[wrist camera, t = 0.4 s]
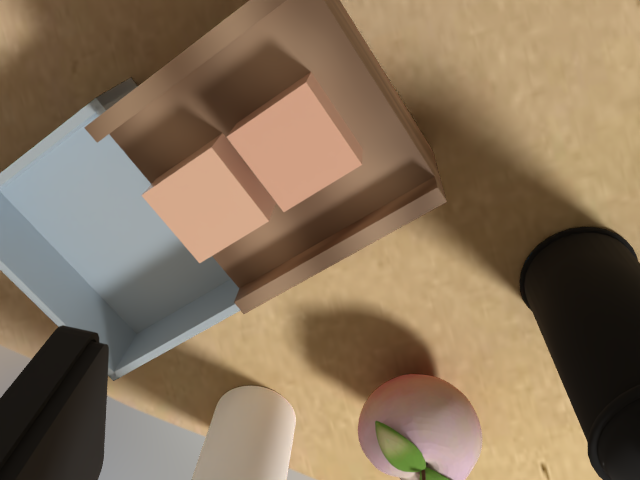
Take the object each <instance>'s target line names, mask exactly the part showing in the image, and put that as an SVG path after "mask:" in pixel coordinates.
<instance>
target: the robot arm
mask: <svg viewBox="0 0 640 480" xmlns="http://www.w3.org/2000/svg"><path fill="white" fill-rule="evenodd" d="M108 361H109V347H108V345H107V344H103V343H99V335H98V333H96V332H92V331H87V330H82V329H78V328H73V327H69V326H64V325H62V326H59V327H58V328H57V329H56V330H55V331H54V333H53V334H52V335H51V336H50V338H49V339H48V340H47V341H46V342H45V344H44V345H43V346H42V347H41V349H40V350H39V351H38V352H37V354H36V355H35V356H34V357H33V359H32V360H31V361H30V362H29V364H28V365H27V366H26V367H25V368H24V370H23V371H22V372H21V374H20V375H19V376H18V377H17V379H16V380H15V381H14V382H13V383H12V385H11V386H10V387H9V388H8V390H7V391H6V392H5V393H4V394H3V396H2V397H1V398H0V480H98V477H99V475H100V472H101V469H102V464H103V459H104V439H105V420H106V399H107V381H108Z"/></svg>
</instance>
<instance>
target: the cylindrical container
mask: <svg viewBox="0 0 640 480" xmlns="http://www.w3.org/2000/svg"><path fill="white" fill-rule="evenodd" d="M295 424H296V416H295V412H294V410H293V408H292V406H291V404H290V403H289V402H288V401H287V400H286V399H285V398H284V397H283V396H282V395H280V394H278V393H277V392H275V391H273V390H270V389H268V388H265V387H260V386H241V387H237V388H234V389H232V390H230V391H228V392H227V393H225V394H224V395H223V396H222V397H221V398H220V400H219V401H218V404H217V406H216V409H215V412H214V415H213V418H212V421H211V424H210V427H209V429H208V432H207V435H206V438H205V442H204V444H203V447H202V450H201V453H200V456H199V459H198V462H197V465H196V468H195V471H194V474H193V477H192V480H287V473H288V467H289V461H290V455H291V449H292V443H293V436H294V430H295Z"/></svg>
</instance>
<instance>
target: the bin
mask: <svg viewBox="0 0 640 480" xmlns="http://www.w3.org/2000/svg"><path fill="white" fill-rule="evenodd" d="M136 87H138V86H137V85H136V83H135V82H134V81H133V80H132V78H129V79H128V80H126V81H124V82H122V83H121V84H119V85H117V86H115V87H114V88H112V89H110V90H109V91H107V92H105V93H103V94H102V95H100V96H98V97H96V98H95V99H94V100H92V101H91V102H90V103H89V104H87V105H86V106H85V107H83V108H82V109H81V110H80V111H78V112H77V113H76V114H75V115H73V116H72V117H71V118H70V119H68V120H67V121H66V122H64V123H63V124H62V125H61V126H59V127H58V128H57V129H56V130H54V131H53V132H52V133H50V134H49V135H48V136H47V137H45V138H44V139H43V140H42V141H40V142H39V143H38V144H36V145H35V146H34V147H33V148H31V149H30V150H29V151H28V152H26V153H25V154H24V155H23V156H21V157H20V158H19V159H17V160H16V161H15V162H14V163H12V164H11V165H10V166H9V167H7V168H6V169H5V170H3V171H2V172H1V173H0V270H1V271H2V272H3V273H4V274H5V275H6V276H7V277H8V278H9V279H10V280H11V281H12V282H13V283H14V284H15V285H16V286H17V287H18V288H19V289H20V290H21V291H22V292H23V293H25V294H26V295H27V296H28V297H29V298H30V299H31V300H32V301H33V302H34V303H35V304H36V305H37V306H38V307H39V308H40V309H41V310H42V311H43V312H44V313H45V314H46V315H47V316H48V317H49V318H50V319H51V320H52V321H53V322H54V323H55V324H56V325H57V326H58V327H59V326H62V325H64V326H69V327H73V328H78V329H82V330H87V331H92V332H96V333H98V335H99V343H103V344H107V345H108V347H109V361H108V376H109V377H110V378H111V379H112V380H113V381H114V380H116V379H118V378H120V377H122V376H123V375H125V374H127V373H129V372H131V371H132V370H134V369H136V368H138V367H140V366H141V365H143V364H145V363H147V362H149V361H150V360H152V359H154V358H156V357H158V356H159V355H161V354H163V353H165V352H167V351H168V350H170V349H172V348H174V347H175V346H177V345H179V344H181V343H183V342H184V341H186V340H188V339H190V338H192V337H193V336H195V335H197V334H199V333H201V332H202V331H204V330H206V329H208V328H210V327H211V326H213V325H215V324H217V323H219V322H220V321H222V320H224V319H226V318H228V317H229V316H231V315H233V314H235V313H237V312H238V311H240V309H239V308H238V307H237V306H236V304H235V303H234V301H235V298H236V296H237V293H238V290H239V288H238V286H237V285H236V284H235V283H234V282H233V280H232V279H231V278H230V277H229V276H228V275H227V273H226V272H225V271H224V270H223V269H222V267H221V266H220V265H219V264H218V263H217V262H216V260H215V259H214V258H213V257H212V256H211V257H210V258H208V259H206V260H205V261H203V262H201V263H199V262H198V261H197V260H196V259H195V257H194V256H193V255H192V254H191V253H190V252H189V250H188V249H187V248H186V247H185V246H184V245H183V243H182V242H181V241H180V240H179V239H178V238H177V236H176V235H175V234H174V233H173V232H172V231H171V229H170V228H169V227H168V226H167V225H166V224H165V222H164V221H163V220H162V219H161V218H160V217H159V215H158V214H157V213H156V212H155V211H154V210H153V208H152V207H151V206H150V205H149V204H148V203H147V201H146V200H145V199H144V198H143V197H142V196H141V195H142V194H143V193H144V192H145V191H146V190H147V189H148V187H149V186H150V185H151V183H150V182H149V181H148V180H147V178H146V177H145V176H144V175H143V174H142V173H141V171H140V170H139V169H138V168H137V167H136V165H135V164H134V163H133V162H132V161H131V160H130V158H129V157H128V156H127V155H126V154H125V152H124V151H123V150H122V149H121V148H120V146H119V145H118V144H117V143H116V142H115V141H114V139H113V138H112V137H111V136H110V135H109V134H108V135H107V136H106V137H104V138H103V139H102V140H100V141H99V142H98V143H97V142H96V141H95V140H94V139H93V138H92V136H91V135H90V134H89V133H88V132H87V131H86V129H85V128H84V127H86V126H87V125H88V124H90V123H91V122H92V121H93V120H95V119H96V118H97V117H99V116H100V115H101V114H103V113H104V112H105V111H106V110H108V109H109V108H110V107H112V106H113V105H114V104H116V103H117V102H118V101H119V100H121V99H122V98H123V97H125V96H126V95H127V94H128V93H130V92H131V91H132V90H134V89H135V88H136Z"/></svg>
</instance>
